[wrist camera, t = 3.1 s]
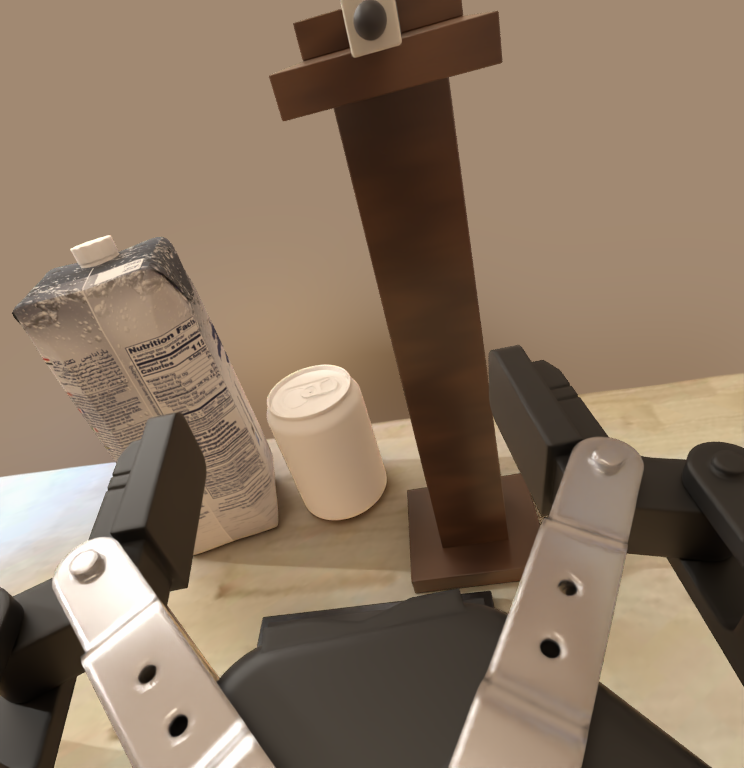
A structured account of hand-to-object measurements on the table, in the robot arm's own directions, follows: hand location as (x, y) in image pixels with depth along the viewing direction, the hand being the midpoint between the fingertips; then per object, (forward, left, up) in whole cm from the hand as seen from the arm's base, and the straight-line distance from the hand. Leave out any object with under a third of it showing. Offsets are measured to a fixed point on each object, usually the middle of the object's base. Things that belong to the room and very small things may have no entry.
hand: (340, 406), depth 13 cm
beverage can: (-8, +23, -27) cm, 36 cm away
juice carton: (-19, +22, -27) cm, 40 cm away
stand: (+3, +15, -27) cm, 31 cm away
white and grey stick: (+3, +11, +7) cm, 13 cm away
